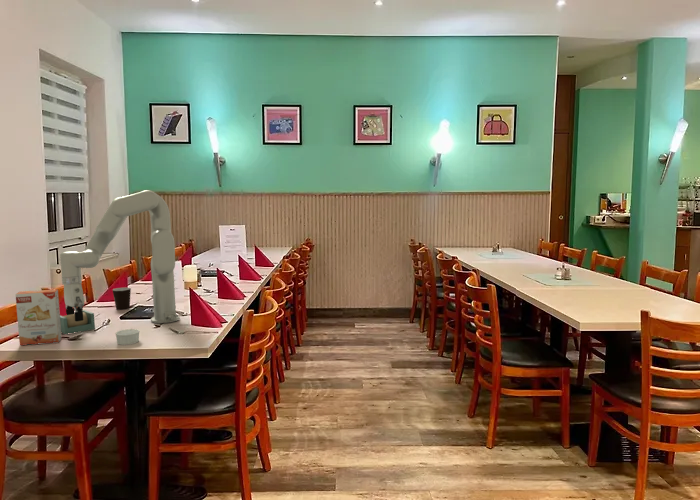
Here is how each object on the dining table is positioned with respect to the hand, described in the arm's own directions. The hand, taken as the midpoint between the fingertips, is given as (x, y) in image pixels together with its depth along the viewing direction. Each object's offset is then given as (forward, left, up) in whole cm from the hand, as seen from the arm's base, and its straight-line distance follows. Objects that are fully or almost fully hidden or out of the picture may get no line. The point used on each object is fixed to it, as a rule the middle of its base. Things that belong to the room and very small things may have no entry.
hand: (74, 319), depth 238 cm
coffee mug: (+27, -34, -5) cm, 44 cm away
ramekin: (-37, -6, -5) cm, 38 cm away
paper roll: (0, 0, -4) cm, 4 cm away
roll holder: (0, 0, -5) cm, 5 cm away
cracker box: (-10, +17, -5) cm, 20 cm away
